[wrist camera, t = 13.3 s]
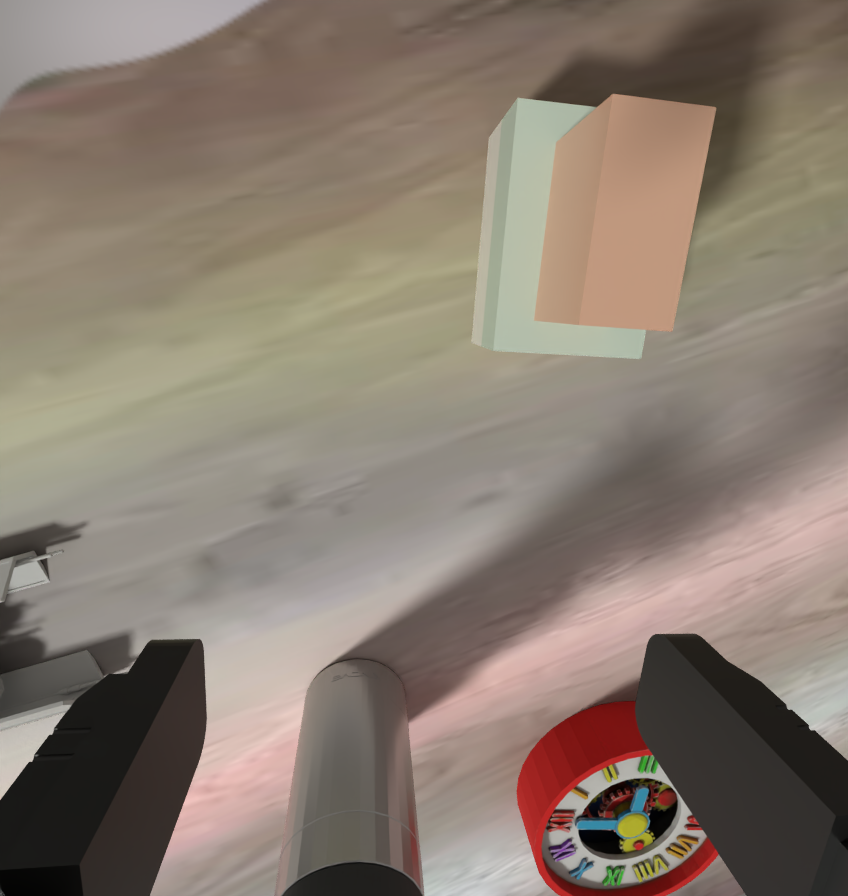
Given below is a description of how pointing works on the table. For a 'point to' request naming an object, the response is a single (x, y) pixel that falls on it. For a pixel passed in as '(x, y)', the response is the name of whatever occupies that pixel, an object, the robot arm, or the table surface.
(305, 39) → the table surface
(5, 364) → the table surface
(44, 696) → the spaceship toy
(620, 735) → the toy clock
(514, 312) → the green and white block
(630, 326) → the terracotta brick
